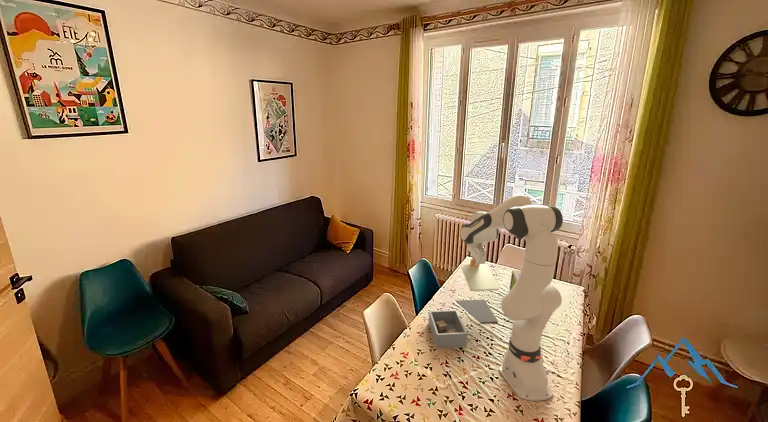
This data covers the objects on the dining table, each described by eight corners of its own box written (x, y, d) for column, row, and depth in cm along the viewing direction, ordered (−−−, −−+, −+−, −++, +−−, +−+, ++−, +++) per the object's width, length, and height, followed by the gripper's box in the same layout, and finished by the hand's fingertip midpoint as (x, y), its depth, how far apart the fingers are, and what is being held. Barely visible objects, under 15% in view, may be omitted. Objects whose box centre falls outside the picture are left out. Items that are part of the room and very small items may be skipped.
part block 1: (446, 331, 166) (447, 325, 164) (439, 333, 164) (439, 326, 163) (442, 327, 169) (443, 320, 168) (435, 328, 168) (435, 321, 167)
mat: (497, 322, 174) (498, 321, 174) (467, 323, 173) (467, 322, 173) (484, 300, 193) (484, 299, 193) (456, 301, 192) (456, 300, 192)
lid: (498, 291, 171) (500, 282, 167) (470, 292, 170) (471, 283, 166) (486, 266, 186) (488, 258, 183) (460, 267, 185) (461, 259, 182)
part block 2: (458, 341, 160) (459, 333, 158) (451, 343, 158) (452, 336, 157) (453, 335, 163) (454, 328, 162) (446, 338, 161) (447, 331, 160)
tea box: (531, 307, 186) (535, 284, 182) (512, 305, 188) (516, 282, 184) (526, 292, 200) (530, 270, 196) (508, 291, 202) (511, 269, 198)
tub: (466, 347, 156) (467, 333, 154) (436, 349, 155) (437, 334, 153) (455, 323, 173) (456, 309, 171) (428, 324, 172) (429, 311, 170)
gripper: (490, 248, 169) (487, 273, 173) (476, 232, 188) (474, 255, 193) (478, 248, 168) (475, 273, 173) (465, 233, 188) (463, 255, 192)
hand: (475, 263), depth 183 cm, fingers closed on lid
